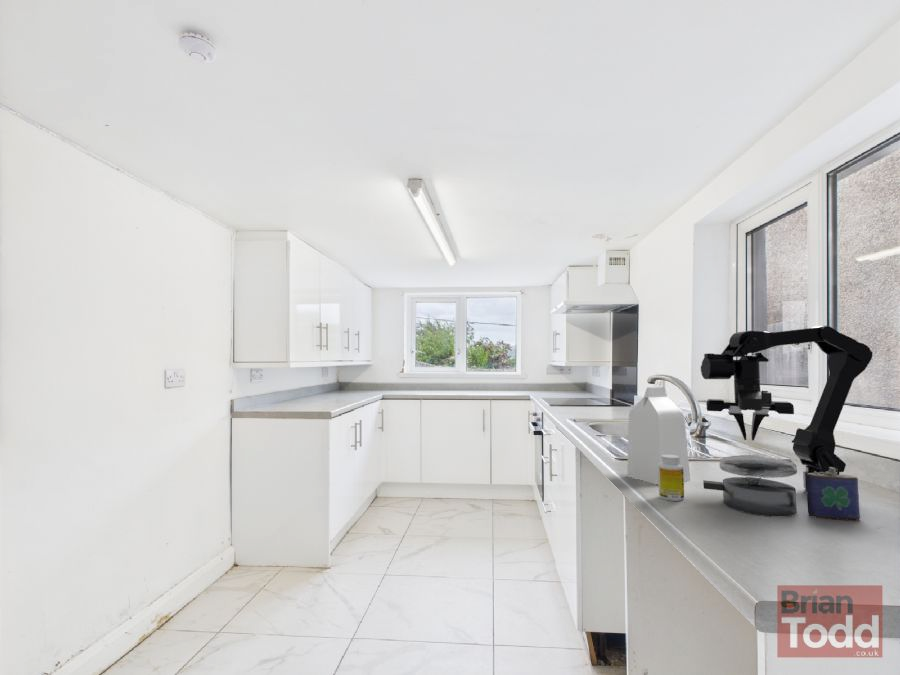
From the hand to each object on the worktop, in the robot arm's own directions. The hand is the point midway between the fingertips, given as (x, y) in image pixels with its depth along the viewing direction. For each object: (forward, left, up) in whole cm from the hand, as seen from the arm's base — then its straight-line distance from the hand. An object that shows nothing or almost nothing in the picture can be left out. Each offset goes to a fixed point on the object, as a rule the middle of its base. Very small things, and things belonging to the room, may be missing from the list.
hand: (749, 440), depth 121 cm
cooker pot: (+2, +14, -13) cm, 19 cm away
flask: (-13, +16, -13) cm, 25 cm away
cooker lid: (0, +14, -5) cm, 15 cm away
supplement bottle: (+18, +16, -13) cm, 27 cm away
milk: (+22, -4, -13) cm, 26 cm away
